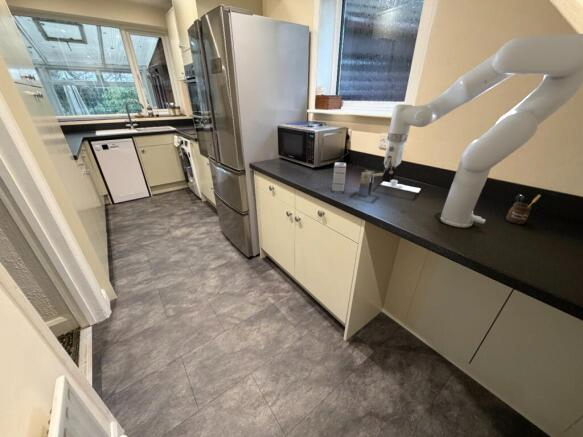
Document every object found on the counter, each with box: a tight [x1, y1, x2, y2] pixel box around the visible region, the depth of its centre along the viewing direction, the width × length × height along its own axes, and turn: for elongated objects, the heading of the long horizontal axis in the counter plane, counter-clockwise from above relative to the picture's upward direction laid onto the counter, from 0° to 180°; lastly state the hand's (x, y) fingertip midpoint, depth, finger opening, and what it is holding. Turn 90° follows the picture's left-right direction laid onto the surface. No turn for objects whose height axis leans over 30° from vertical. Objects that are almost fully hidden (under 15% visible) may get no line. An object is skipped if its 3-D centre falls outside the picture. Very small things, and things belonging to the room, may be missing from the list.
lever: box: [370, 171, 393, 178], centre depth 106 cm, size 12×5×2 cm, turn 53°
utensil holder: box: [505, 194, 542, 225], centre depth 92 cm, size 6×6×12 cm
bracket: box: [357, 169, 376, 198], centre depth 112 cm, size 11×9×13 cm
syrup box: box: [332, 161, 347, 192], centre depth 118 cm, size 6×6×14 cm
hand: (387, 179), depth 104 cm, fingers closed on lever, 5 cm apart
